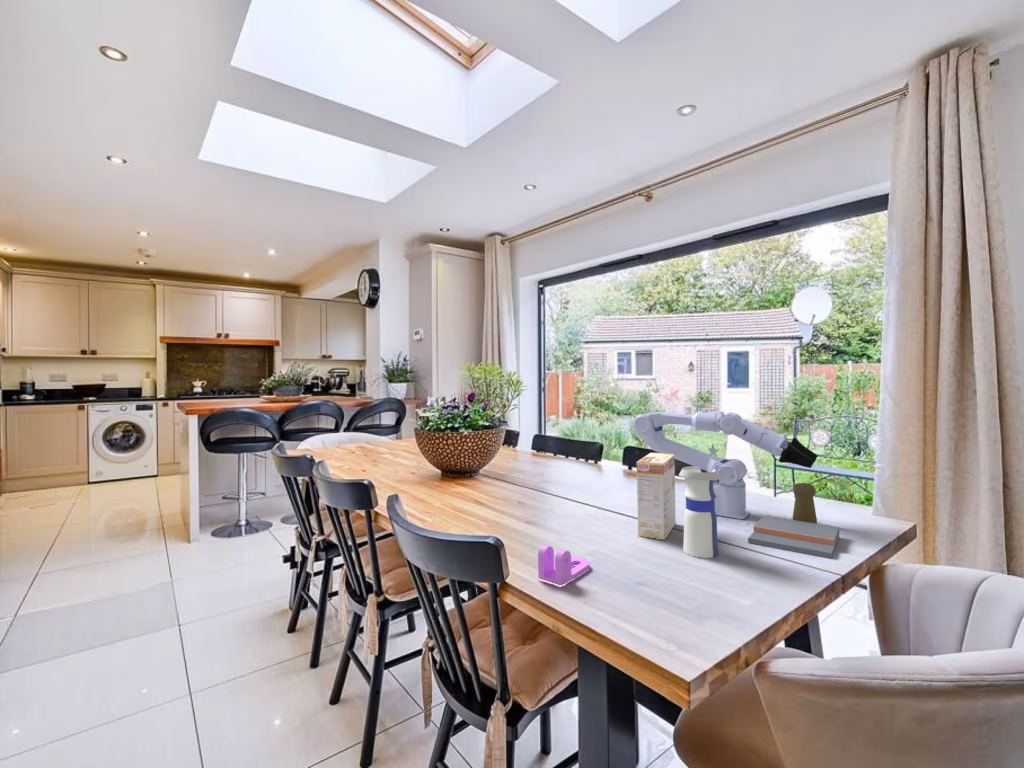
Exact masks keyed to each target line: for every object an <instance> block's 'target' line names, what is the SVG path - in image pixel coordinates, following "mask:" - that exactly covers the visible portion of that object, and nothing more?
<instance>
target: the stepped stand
mask: <svg viewBox="0 0 1024 768" xmlns="http://www.w3.org/2000/svg"><path fill="white" fill-rule="evenodd" d="M839 539H840V527H839V526H833V525H827V524H820V523H817V524H815V523H809V522H802V521H796V520H792V519H787V518H782V517H776V516H775V517H774V516H768V515H763V516H762V517H761V518H760V519H759V520H758V521H757V522H756V523H755V524H754V525H753V532H752V533H751V534H750V535H749V536H748V538H747V543H748V544H753V545H757V546H762V547H768V548H774V549H778V550H785V551H790V552H793V553H800V554H805V555H810V556H815V557H821V558H827V559H832V558H833V557H834V553H835V550H836V548H837V545H838V542H839Z"/></svg>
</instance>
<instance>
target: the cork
mask: <svg viewBox="0 0 1024 768" xmlns="http://www.w3.org/2000/svg"><path fill="white" fill-rule="evenodd" d="M792 491H793V494H795V498H794V499H795V500H794V506H793V510H792V511H793V513H792V519H791V520H796V521H802V522H809V523H815V524H818V519H817V512H816V505H815V500H814V496H815V495H816V487H815V485H813V484H811V483H807V482H798V483H795V484H794V485H793V490H792Z"/></svg>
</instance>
